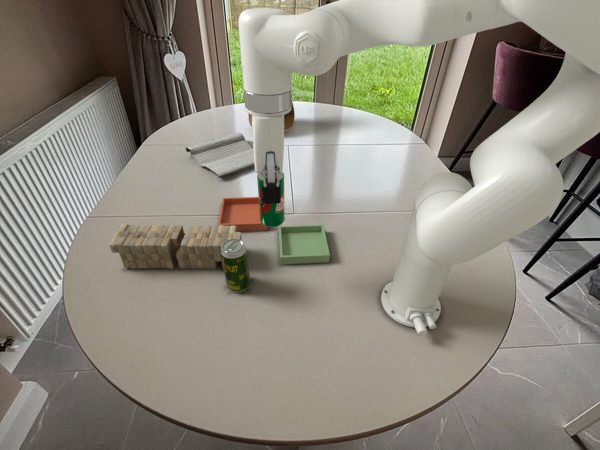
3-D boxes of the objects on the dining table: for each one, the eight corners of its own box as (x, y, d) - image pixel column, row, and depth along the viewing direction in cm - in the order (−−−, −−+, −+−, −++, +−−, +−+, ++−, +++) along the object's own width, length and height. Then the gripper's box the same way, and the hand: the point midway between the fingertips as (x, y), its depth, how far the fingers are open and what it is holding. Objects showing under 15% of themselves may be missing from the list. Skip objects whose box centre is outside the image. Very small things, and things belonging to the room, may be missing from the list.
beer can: (233, 273, 80) (228, 235, 72) (254, 279, 78) (250, 241, 71) (222, 289, 76) (214, 251, 68) (243, 296, 74) (238, 257, 67)
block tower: (244, 250, 87) (131, 246, 86) (242, 225, 82) (122, 221, 81) (240, 272, 81) (118, 268, 80) (238, 246, 76) (107, 242, 75)
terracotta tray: (267, 230, 93) (266, 223, 91) (218, 232, 92) (217, 225, 90) (266, 203, 103) (266, 196, 101) (223, 204, 102) (222, 197, 100)
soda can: (281, 230, 67) (280, 178, 59) (257, 227, 67) (253, 175, 60) (287, 215, 71) (286, 165, 63) (264, 212, 71) (261, 162, 64)
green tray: (329, 262, 83) (330, 255, 82) (280, 264, 82) (280, 257, 81) (322, 231, 93) (323, 224, 91) (279, 232, 92) (278, 225, 90)
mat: (219, 182, 112) (218, 170, 109) (187, 157, 125) (184, 146, 122) (274, 161, 124) (273, 150, 121) (239, 141, 138) (237, 130, 135)
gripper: (246, 84, 60) (252, 173, 71) (242, 120, 47) (251, 222, 58) (287, 84, 61) (287, 172, 72) (295, 119, 47) (294, 220, 59)
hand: (271, 193), depth 65 cm, fingers closed on soda can, 5 cm apart
